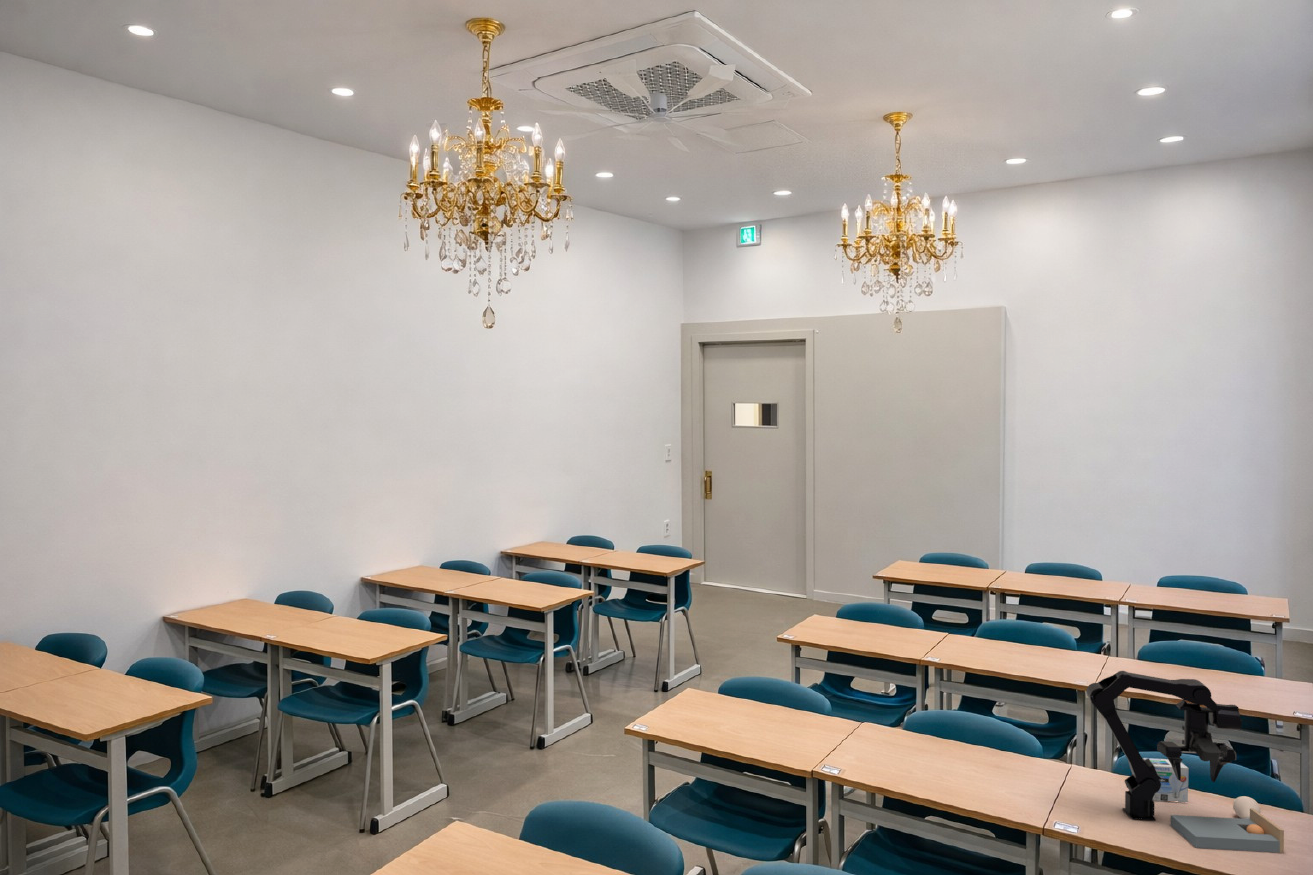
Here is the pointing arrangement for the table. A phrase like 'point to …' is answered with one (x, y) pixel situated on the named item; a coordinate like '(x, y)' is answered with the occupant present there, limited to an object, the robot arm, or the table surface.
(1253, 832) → the ball
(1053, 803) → the table surface
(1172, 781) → the light bulb box
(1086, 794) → the table surface
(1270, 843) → the notched base with backboard
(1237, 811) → the light bulb
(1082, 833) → the table surface
